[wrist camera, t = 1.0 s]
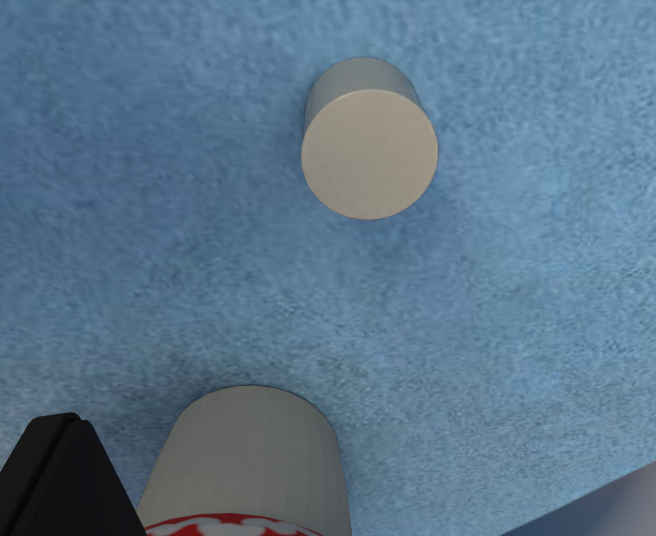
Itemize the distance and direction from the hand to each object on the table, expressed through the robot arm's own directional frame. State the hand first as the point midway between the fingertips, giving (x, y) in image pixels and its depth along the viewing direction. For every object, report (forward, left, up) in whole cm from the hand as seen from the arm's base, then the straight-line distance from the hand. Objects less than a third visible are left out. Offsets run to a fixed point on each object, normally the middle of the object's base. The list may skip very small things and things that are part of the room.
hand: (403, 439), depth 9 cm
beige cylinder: (+1, 0, -19) cm, 19 cm away
